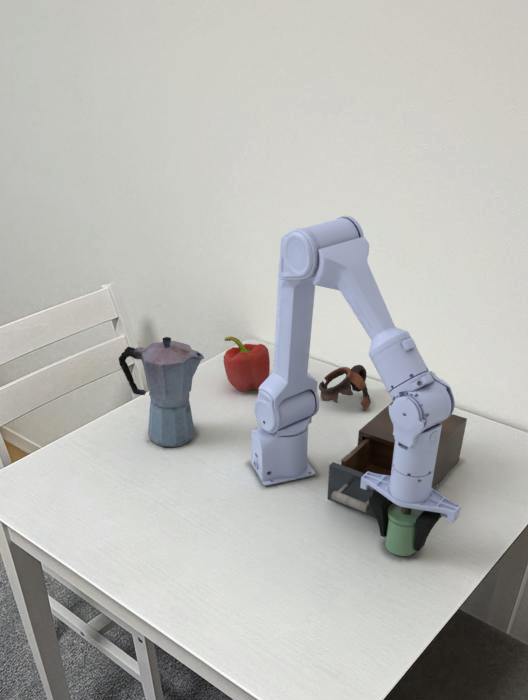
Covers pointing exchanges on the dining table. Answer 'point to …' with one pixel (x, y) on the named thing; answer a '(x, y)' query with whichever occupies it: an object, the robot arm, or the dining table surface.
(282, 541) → the dining table surface
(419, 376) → the robot arm
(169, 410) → the moka pot
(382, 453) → the drawer
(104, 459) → the dining table surface
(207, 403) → the dining table surface
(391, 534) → the pot
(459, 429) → the cabinet
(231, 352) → the vegetable
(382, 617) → the dining table surface
